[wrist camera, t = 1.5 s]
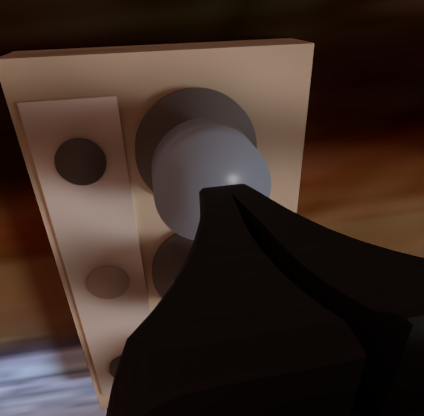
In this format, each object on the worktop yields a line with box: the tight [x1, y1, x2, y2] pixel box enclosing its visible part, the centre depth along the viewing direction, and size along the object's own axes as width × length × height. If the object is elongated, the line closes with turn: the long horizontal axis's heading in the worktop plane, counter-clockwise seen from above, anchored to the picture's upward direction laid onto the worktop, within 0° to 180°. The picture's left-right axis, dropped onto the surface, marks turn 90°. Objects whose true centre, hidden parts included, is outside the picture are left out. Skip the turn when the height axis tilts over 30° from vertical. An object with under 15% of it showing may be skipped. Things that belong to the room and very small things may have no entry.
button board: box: [0, 38, 314, 409], centre depth 20 cm, size 21×12×3 cm, turn 2°
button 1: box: [151, 117, 271, 240], centre depth 13 cm, size 4×4×2 cm
